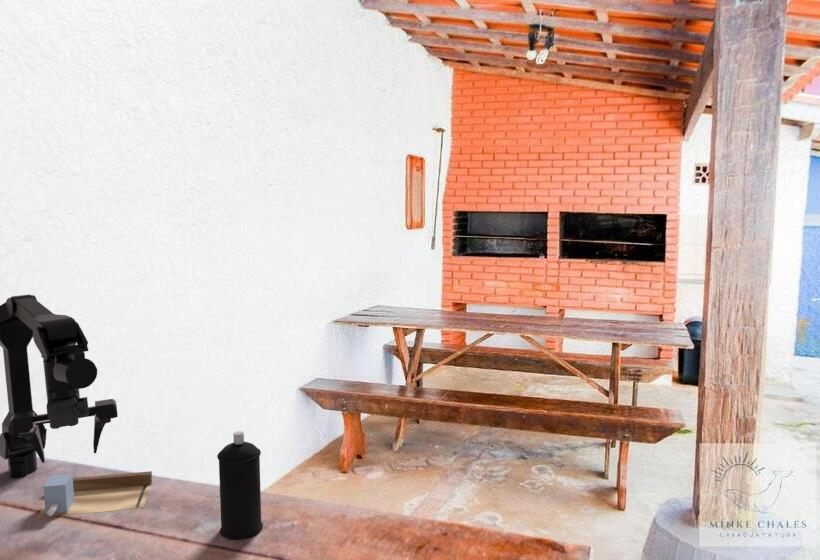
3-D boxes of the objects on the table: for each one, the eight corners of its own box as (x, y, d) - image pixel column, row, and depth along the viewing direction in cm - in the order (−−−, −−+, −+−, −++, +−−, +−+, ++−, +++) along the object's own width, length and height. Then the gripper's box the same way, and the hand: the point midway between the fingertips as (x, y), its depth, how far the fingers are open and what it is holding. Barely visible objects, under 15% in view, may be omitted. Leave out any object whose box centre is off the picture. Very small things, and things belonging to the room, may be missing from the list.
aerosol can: (253, 542, 123) (250, 442, 120) (212, 538, 125) (208, 439, 122) (269, 520, 131) (266, 426, 128) (230, 516, 133) (227, 423, 130)
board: (54, 496, 140) (53, 479, 140) (152, 488, 145) (151, 471, 144) (36, 524, 129) (34, 506, 128) (143, 514, 133) (142, 496, 133)
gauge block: (53, 502, 135) (51, 475, 134) (74, 500, 136) (72, 473, 135) (39, 523, 127) (37, 494, 126) (62, 521, 127) (60, 492, 127)
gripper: (2, 398, 117) (11, 481, 118) (115, 382, 125) (122, 460, 127) (8, 385, 127) (17, 462, 128) (112, 371, 135) (119, 443, 137)
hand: (69, 457), depth 130 cm, fingers open, 9 cm apart
